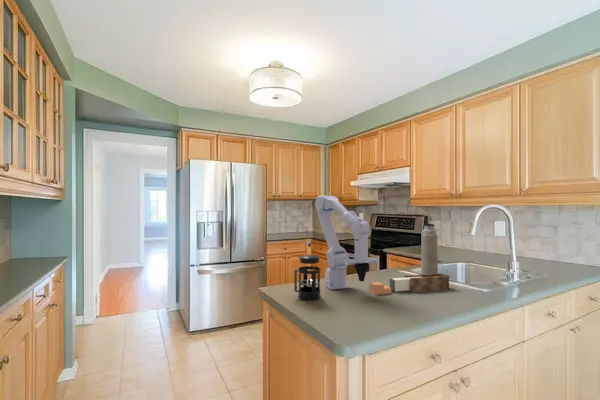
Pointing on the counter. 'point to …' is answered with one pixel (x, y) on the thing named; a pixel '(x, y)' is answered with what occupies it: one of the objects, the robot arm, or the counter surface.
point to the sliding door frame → (428, 282)
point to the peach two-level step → (379, 288)
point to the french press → (309, 287)
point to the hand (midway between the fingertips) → (361, 280)
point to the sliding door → (400, 284)
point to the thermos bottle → (429, 250)
